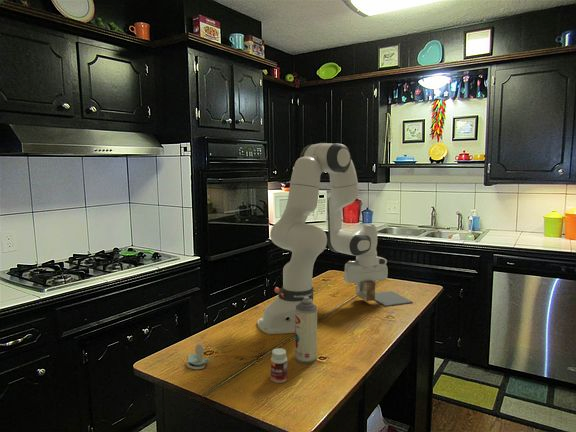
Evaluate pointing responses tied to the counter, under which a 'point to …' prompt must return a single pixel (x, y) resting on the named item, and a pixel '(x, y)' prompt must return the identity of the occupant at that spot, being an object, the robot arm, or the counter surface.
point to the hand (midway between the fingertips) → (365, 290)
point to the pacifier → (198, 360)
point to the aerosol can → (306, 331)
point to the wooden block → (367, 290)
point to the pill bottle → (279, 365)
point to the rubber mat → (391, 299)
